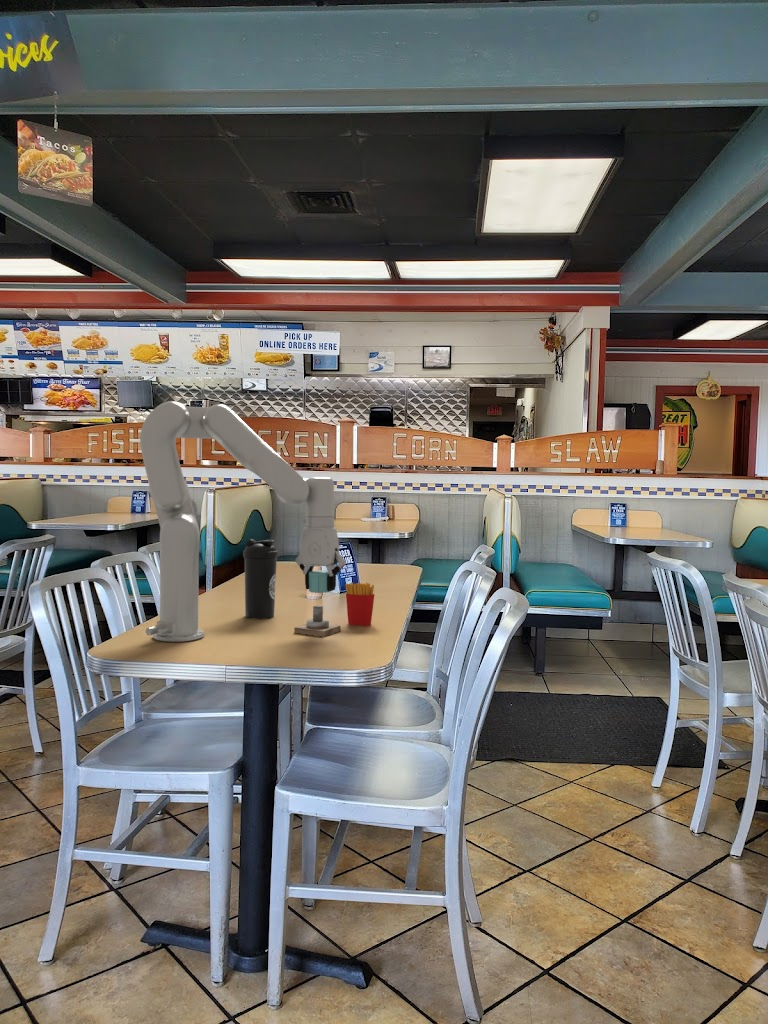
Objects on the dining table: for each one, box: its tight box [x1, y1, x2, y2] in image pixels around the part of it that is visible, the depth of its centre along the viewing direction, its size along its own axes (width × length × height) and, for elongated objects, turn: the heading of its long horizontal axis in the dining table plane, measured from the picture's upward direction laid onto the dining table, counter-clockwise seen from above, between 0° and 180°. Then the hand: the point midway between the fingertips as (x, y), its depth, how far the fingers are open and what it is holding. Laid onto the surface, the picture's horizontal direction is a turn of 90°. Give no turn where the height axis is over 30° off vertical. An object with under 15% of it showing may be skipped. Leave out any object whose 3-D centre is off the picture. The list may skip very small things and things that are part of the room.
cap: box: [308, 569, 334, 594], centre depth 192 cm, size 6×6×5 cm
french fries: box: [345, 582, 375, 627], centre depth 203 cm, size 8×4×12 cm, turn 81°
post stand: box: [293, 605, 341, 638], centre depth 192 cm, size 9×9×7 cm
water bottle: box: [242, 538, 279, 620], centre depth 212 cm, size 10×10×23 cm
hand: (320, 588), depth 192 cm, fingers closed on cap, 6 cm apart
